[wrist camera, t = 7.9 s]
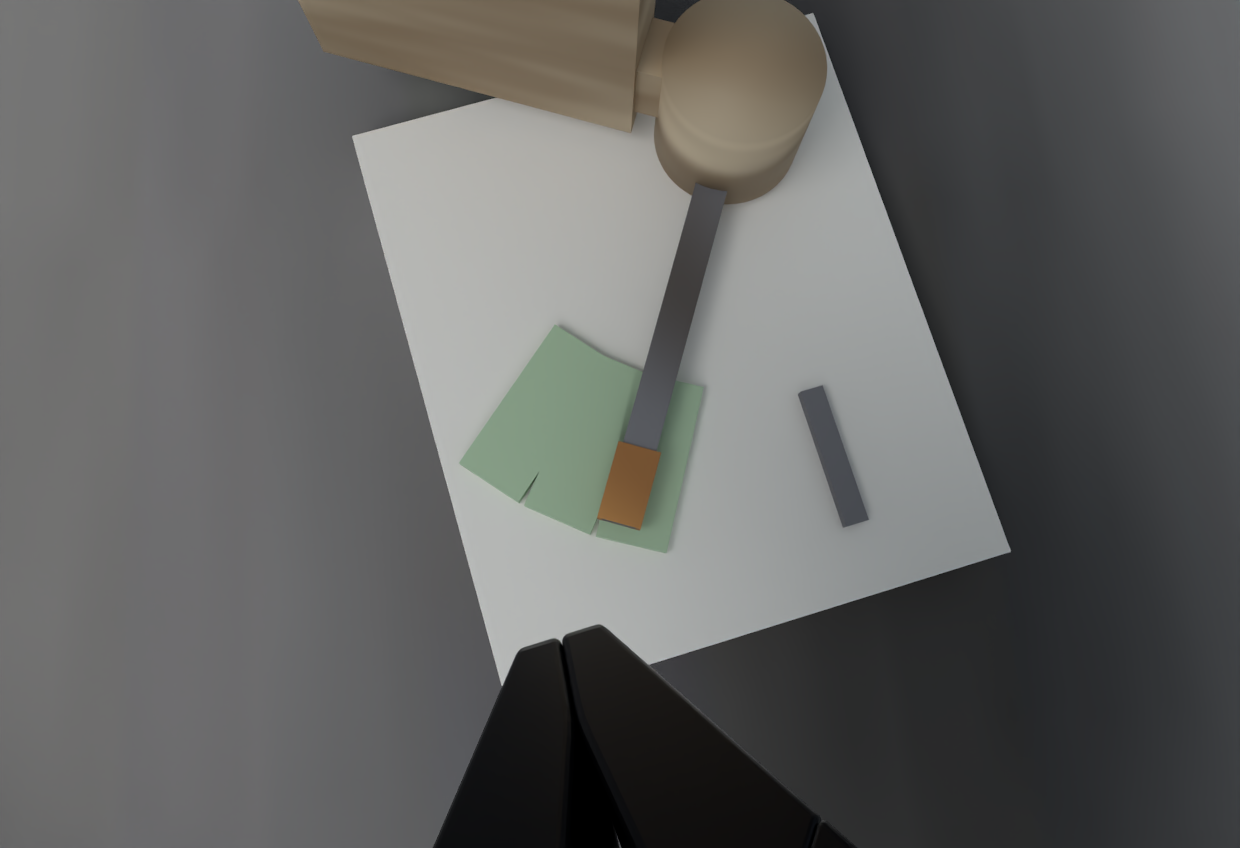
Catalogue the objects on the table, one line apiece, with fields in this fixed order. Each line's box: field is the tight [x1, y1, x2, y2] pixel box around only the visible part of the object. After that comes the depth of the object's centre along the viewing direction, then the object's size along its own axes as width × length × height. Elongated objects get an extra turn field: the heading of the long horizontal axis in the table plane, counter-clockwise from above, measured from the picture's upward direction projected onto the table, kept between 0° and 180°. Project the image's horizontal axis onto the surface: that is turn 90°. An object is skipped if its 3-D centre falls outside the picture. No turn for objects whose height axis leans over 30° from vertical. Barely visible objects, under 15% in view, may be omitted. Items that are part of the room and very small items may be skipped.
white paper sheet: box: [352, 13, 1011, 686], centre depth 22 cm, size 13×11×2 cm
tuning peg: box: [298, 0, 827, 531], centre depth 17 cm, size 11×11×8 cm
